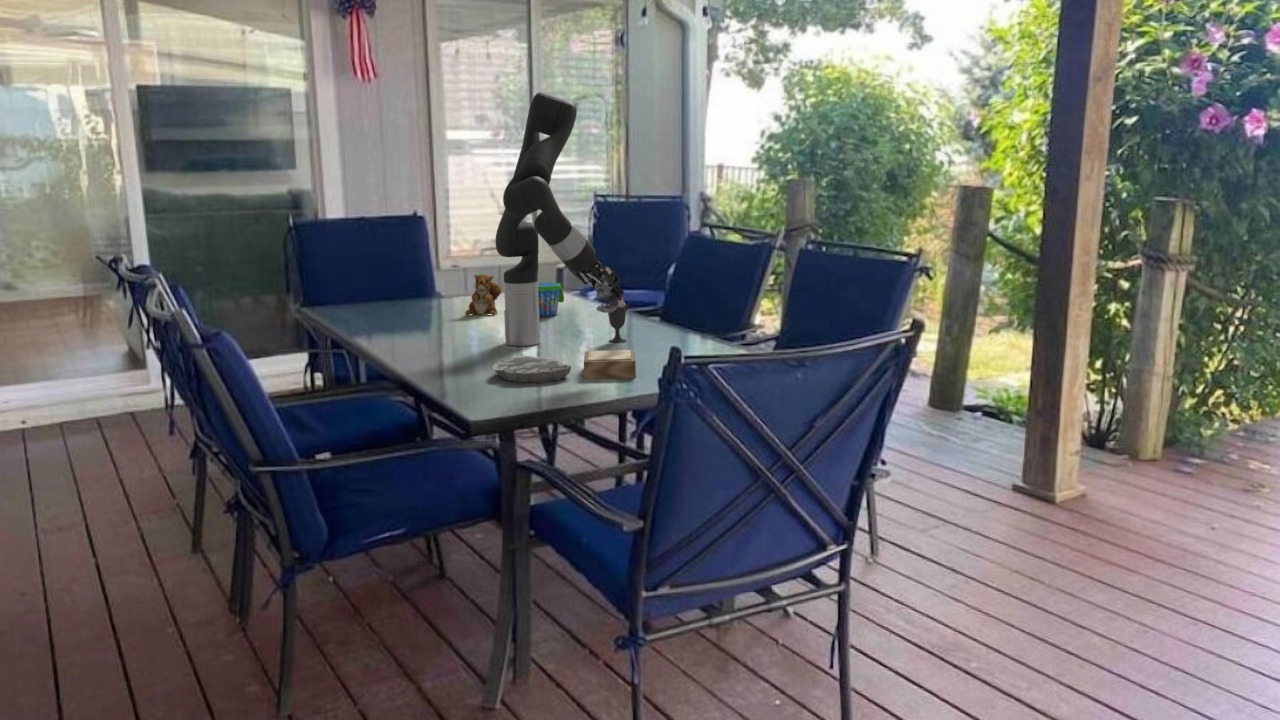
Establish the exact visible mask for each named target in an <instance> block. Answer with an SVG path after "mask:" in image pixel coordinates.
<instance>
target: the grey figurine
mask: <svg viewBox="0 0 1280 720" xmlns="http://www.w3.org/2000/svg"><path fill="white" fill-rule="evenodd" d="M602 278H603V276H601V278H599V279H602ZM606 282H607V283H608V281H607V280H606ZM608 284H609V283H608ZM595 288H596V289H597V290H598V292H597V291H596V297H597V299H598V300H603V301H606V302H607V303H608V304H609V305H608V304H607V305H608V306H605V305H604V304H602V303H601V304H600V305H598V306H597V307H596V311H598V312H600V313H603V314H606V313H607V314H608V313H611V312H613V311H615V309H616V308H617V307H618V306H619V301H618V298H616V296H615V295H614V294H613V293H612V292H611V291H610V290H609V288H607V287H606V286H605V285H604V284H599V283H598V282H597V281H596V283H595Z"/></svg>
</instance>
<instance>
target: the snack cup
mask: <svg viewBox="0 0 1280 720" xmlns="http://www.w3.org/2000/svg"><path fill="white" fill-rule="evenodd" d="M561 285H562V284H561V283H559V282H550V281H549V282H538V298H539V318H540V317H541V318H545V317H553V316H557V313H558V308H559V307H558V306H559V303H564V301H565V296H564V291H563V287H562V286H561Z"/></svg>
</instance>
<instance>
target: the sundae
mask: <svg viewBox="0 0 1280 720" xmlns="http://www.w3.org/2000/svg"><path fill="white" fill-rule="evenodd" d="M621 289H622V290H623V288H622V287H621ZM618 301H619V306H618V307H617V308H616V309H615V311H613V312H611V313H607V314H608V319H609V324H610V327H612V329H614V331H615V334H614V338H612V339H608V342H609V343H611V342H613V343H612V344H621V343H620V342H623V343H625V341H626V342H627V339H624V338H622V337H621V334H620V329H622V328H623V326H624V325H625V322H626V314H627V309H628V307H630V304H627V303H625V301H624V298H623V297H621V298H618ZM608 305H609V303H608V304H604V306H608Z"/></svg>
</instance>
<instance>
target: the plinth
mask: <svg viewBox="0 0 1280 720" xmlns="http://www.w3.org/2000/svg"><path fill="white" fill-rule="evenodd" d="M635 354H636V353H635V350H630V349H627V350H626V349H619V350H617V349H616V350H615V349H614V350H611V349H610V350H588V351H587V350H586V351H584V356H583V357H584V358H583V377H584V380H585V379H588V380H589V379H591V380H592V379H593V380H594V379H628V378H629V379H630V378H634V379H636V377H637V375H636V372H637V371H636V355H635Z"/></svg>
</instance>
